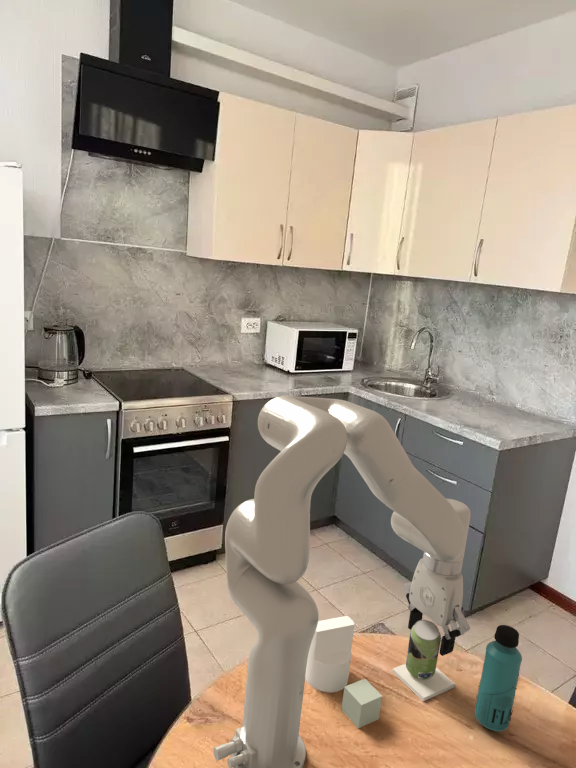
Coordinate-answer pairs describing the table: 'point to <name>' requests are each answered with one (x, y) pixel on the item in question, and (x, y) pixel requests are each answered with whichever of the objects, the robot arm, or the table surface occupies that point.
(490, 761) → the table surface
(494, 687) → the beverage bottle
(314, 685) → the cylinder with rectangular tab
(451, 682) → the coaster
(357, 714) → the sage block
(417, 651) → the beverage can
